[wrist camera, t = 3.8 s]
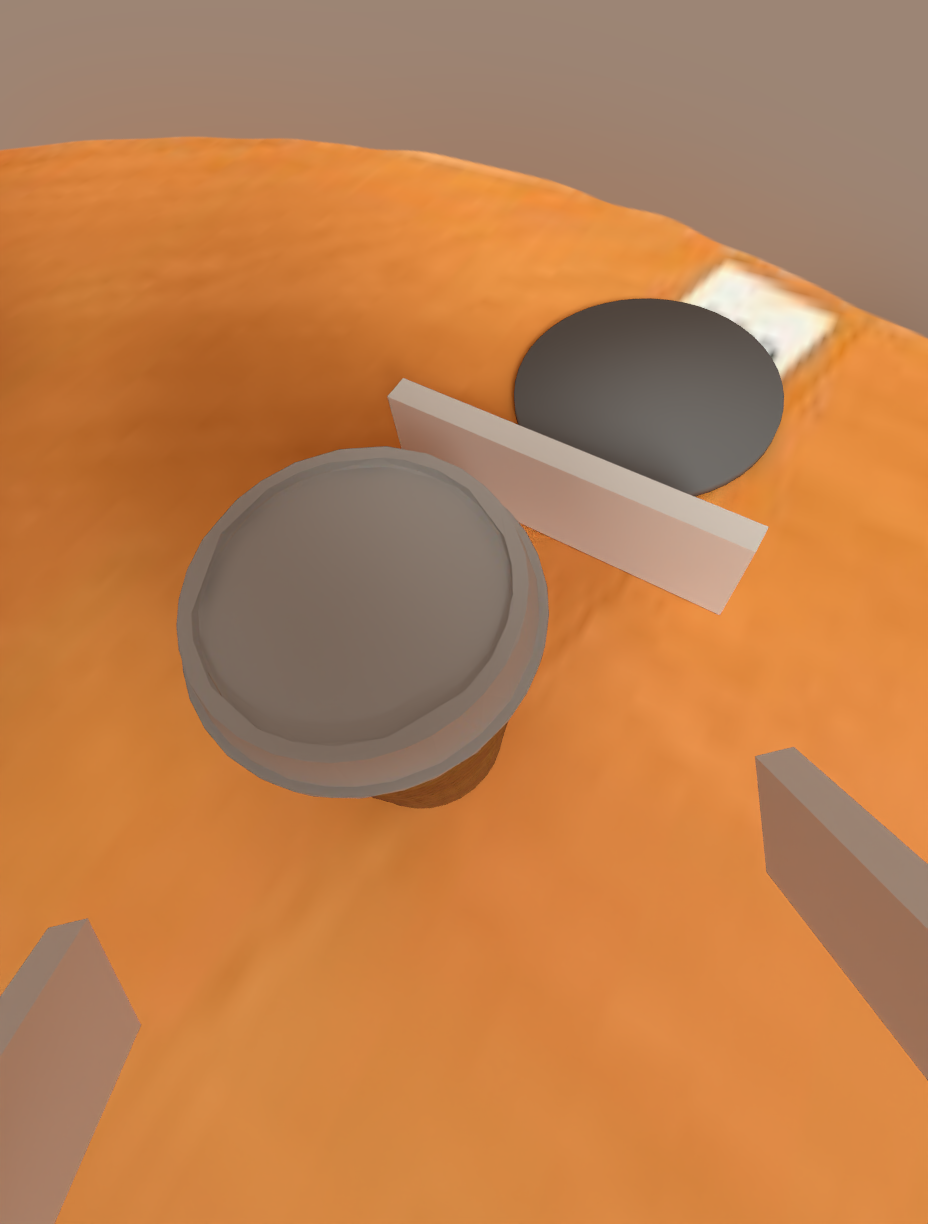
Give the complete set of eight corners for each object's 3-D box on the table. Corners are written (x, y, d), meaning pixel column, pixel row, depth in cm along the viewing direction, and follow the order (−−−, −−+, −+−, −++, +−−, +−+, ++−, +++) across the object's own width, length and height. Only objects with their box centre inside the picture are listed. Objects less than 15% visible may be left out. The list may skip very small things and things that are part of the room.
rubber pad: (466, 438, 33) (465, 431, 32) (588, 280, 37) (589, 272, 37) (715, 544, 29) (718, 538, 28) (819, 353, 33) (823, 345, 33)
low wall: (407, 471, 32) (387, 396, 28) (421, 454, 33) (403, 377, 28) (719, 615, 27) (755, 552, 23) (731, 592, 28) (768, 527, 23)
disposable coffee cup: (411, 584, 30) (342, 382, 19) (590, 706, 26) (629, 545, 16) (261, 750, 27) (78, 625, 16) (440, 910, 23) (360, 887, 13)
